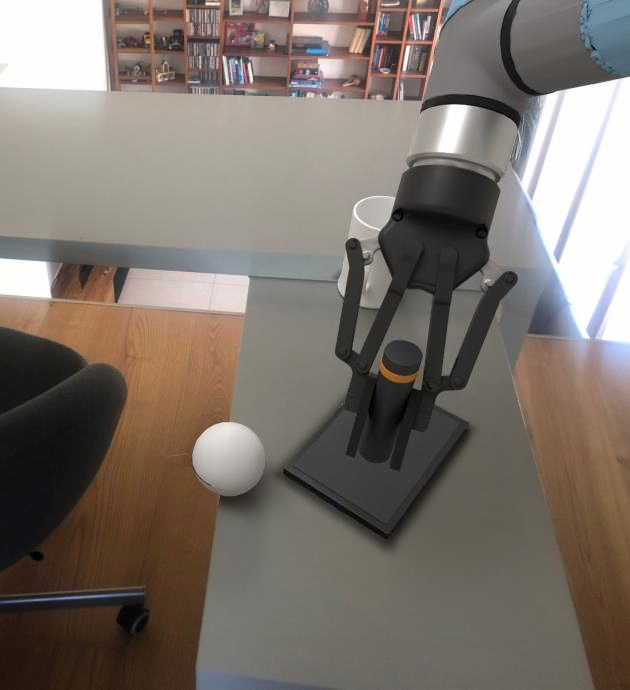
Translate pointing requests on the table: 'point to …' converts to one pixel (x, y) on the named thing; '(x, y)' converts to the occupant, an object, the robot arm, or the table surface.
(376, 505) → the tablet
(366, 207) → the mug
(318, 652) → the table surface
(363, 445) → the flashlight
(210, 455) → the white sphere
